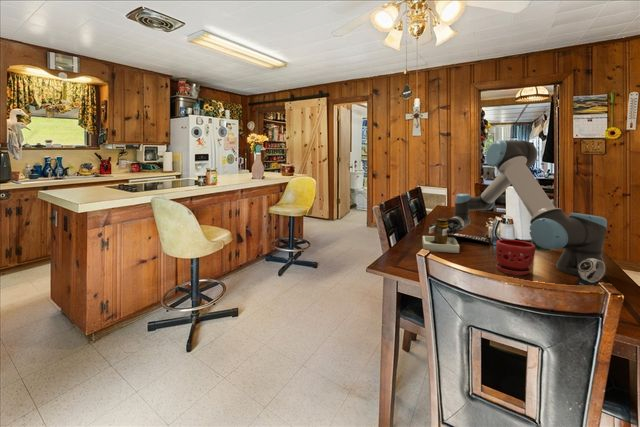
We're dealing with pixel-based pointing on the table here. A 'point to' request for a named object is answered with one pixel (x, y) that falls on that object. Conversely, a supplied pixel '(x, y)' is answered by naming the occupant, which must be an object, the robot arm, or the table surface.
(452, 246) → the pale green square tray
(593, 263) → the watch
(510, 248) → the plant pot
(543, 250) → the canned tomato
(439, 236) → the condiment
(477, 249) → the table surface
